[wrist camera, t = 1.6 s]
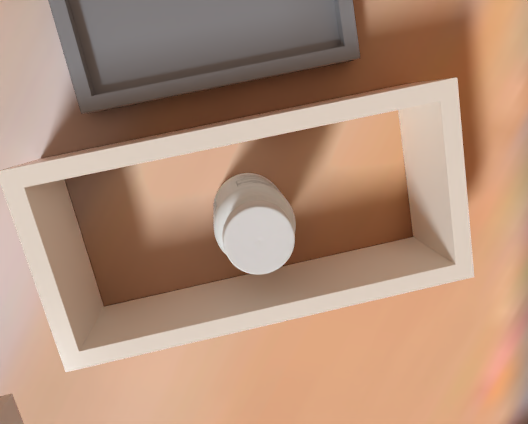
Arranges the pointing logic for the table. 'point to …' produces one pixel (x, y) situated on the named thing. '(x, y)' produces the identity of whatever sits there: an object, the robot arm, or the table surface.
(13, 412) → the robot arm
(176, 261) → the table surface
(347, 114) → the cream storage bin
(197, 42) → the tray
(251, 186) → the pill bottle
